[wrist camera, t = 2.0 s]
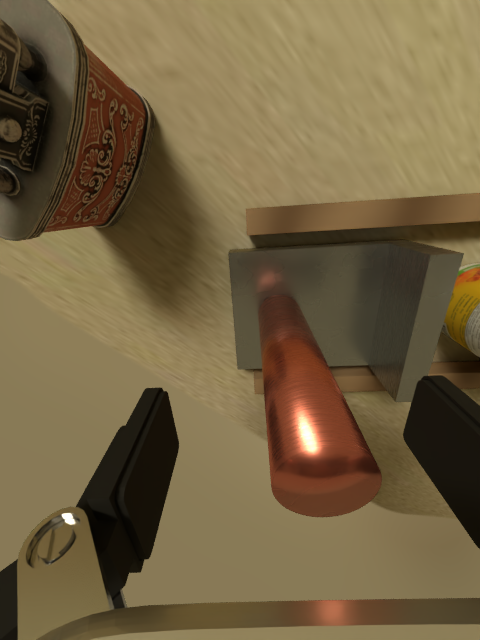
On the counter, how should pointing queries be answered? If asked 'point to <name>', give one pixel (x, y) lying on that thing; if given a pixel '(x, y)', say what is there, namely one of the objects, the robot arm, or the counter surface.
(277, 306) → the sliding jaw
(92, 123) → the lighter
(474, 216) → the bench clamp
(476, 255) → the counter surface
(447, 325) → the supplement bottle
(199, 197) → the counter surface
